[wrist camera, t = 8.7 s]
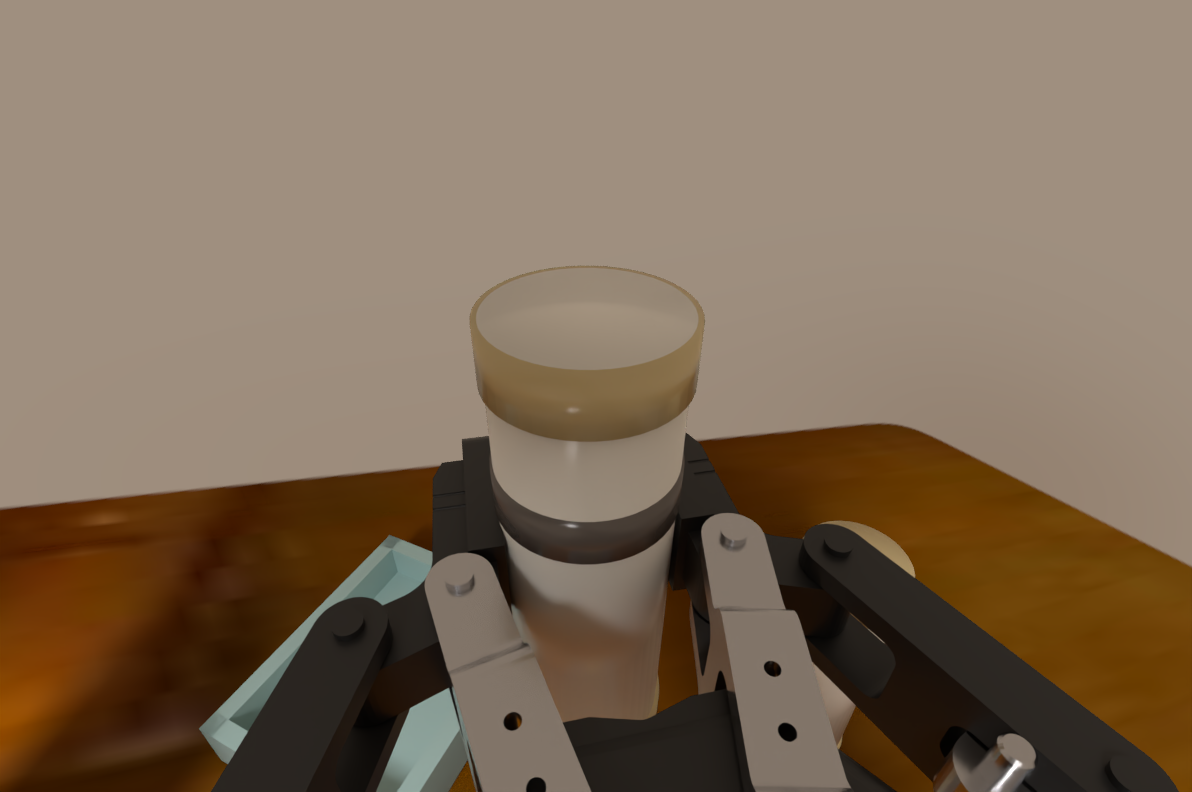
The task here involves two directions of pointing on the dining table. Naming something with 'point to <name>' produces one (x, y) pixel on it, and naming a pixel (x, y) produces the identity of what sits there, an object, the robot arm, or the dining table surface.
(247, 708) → the parts tray
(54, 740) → the dining table surface
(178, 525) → the dining table surface
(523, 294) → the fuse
